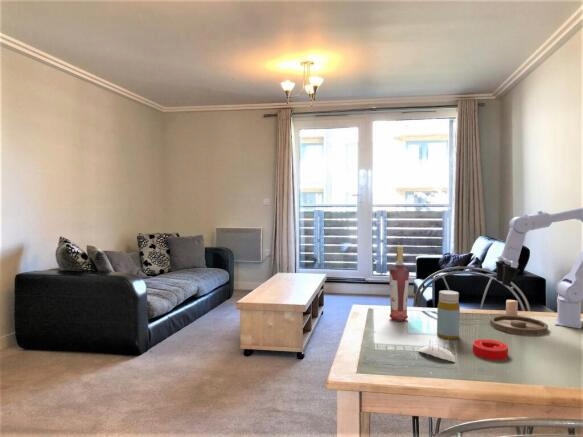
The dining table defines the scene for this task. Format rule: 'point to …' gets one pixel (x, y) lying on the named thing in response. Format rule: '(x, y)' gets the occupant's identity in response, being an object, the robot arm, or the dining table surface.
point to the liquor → (399, 288)
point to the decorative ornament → (490, 349)
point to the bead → (511, 307)
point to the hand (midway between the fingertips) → (502, 283)
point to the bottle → (448, 314)
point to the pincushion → (438, 352)
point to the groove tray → (519, 325)
